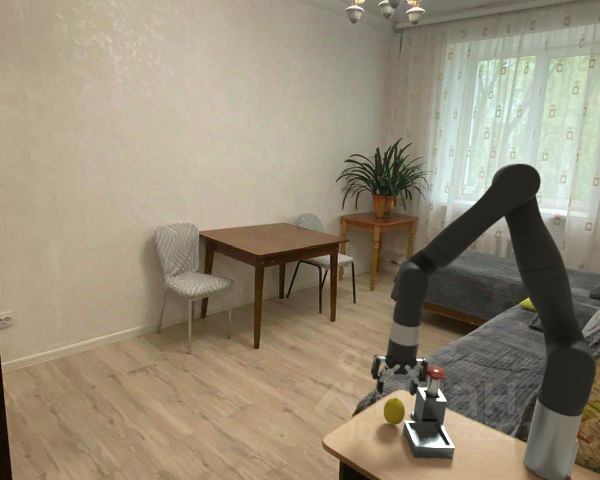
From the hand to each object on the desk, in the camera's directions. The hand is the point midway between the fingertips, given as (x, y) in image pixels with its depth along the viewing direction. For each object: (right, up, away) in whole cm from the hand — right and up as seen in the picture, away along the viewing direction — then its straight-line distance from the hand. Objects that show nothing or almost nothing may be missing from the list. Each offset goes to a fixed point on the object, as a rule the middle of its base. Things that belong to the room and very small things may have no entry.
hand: (395, 393), depth 112 cm
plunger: (+10, -4, +2) cm, 11 cm away
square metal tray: (+7, -11, -5) cm, 14 cm away
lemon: (-1, -9, +2) cm, 10 cm away
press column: (+9, -9, +3) cm, 14 cm away
